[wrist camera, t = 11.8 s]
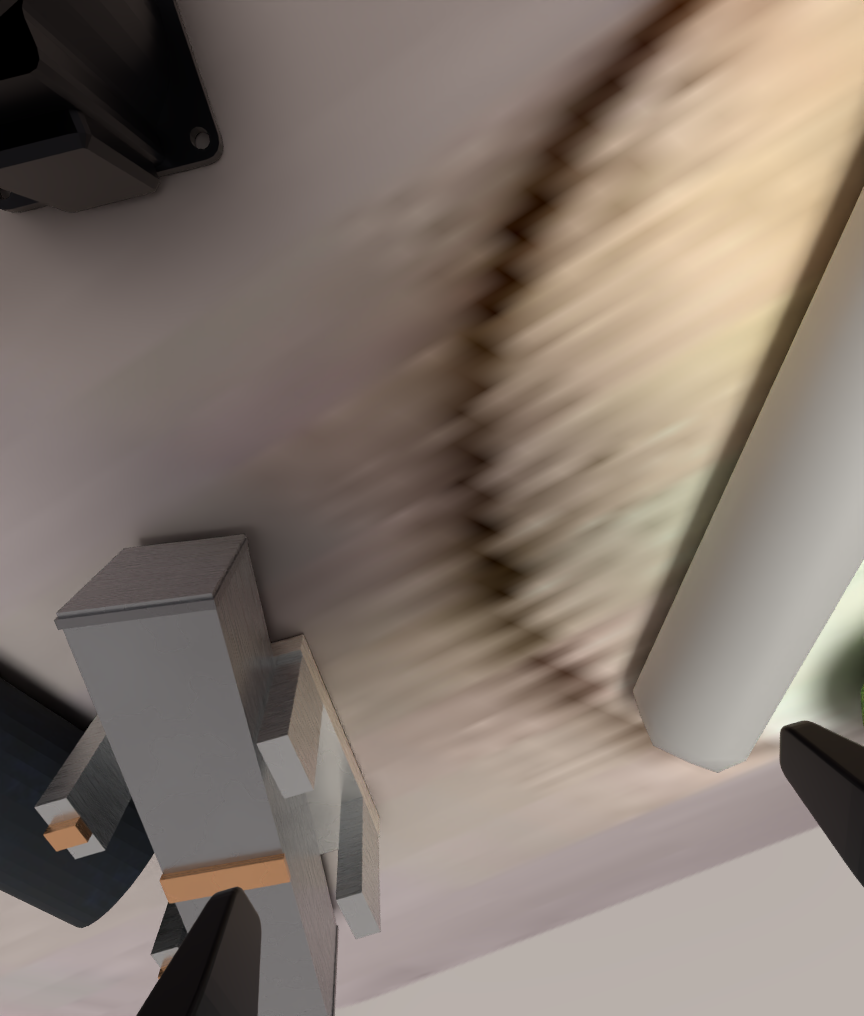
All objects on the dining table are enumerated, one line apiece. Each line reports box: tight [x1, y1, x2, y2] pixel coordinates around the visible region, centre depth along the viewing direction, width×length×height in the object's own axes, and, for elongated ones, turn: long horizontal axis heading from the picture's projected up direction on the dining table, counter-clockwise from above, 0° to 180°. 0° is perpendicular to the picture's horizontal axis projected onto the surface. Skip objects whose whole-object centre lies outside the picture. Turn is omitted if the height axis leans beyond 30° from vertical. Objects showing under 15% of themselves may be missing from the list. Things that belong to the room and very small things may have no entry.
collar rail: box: [34, 634, 381, 979], centre depth 20 cm, size 11×8×5 cm
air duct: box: [54, 534, 339, 1016], centre depth 19 cm, size 22×4×4 cm, turn 5°
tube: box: [633, 187, 864, 773], centre depth 18 cm, size 5×5×25 cm
